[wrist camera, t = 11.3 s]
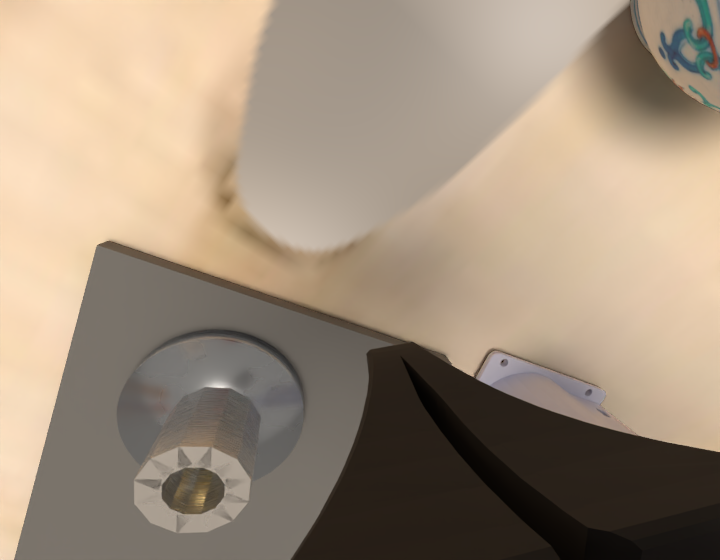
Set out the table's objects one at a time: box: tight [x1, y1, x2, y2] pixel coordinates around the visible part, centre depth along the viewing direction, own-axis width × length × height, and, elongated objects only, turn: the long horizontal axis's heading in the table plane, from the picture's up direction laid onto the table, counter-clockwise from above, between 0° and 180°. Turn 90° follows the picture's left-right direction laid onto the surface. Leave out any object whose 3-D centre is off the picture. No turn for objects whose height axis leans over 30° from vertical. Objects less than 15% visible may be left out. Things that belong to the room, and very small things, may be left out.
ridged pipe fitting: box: [134, 387, 261, 533], centre depth 16 cm, size 4×4×4 cm
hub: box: [117, 329, 304, 482], centre depth 18 cm, size 9×9×3 cm
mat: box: [14, 241, 451, 560], centre depth 22 cm, size 19×25×1 cm
